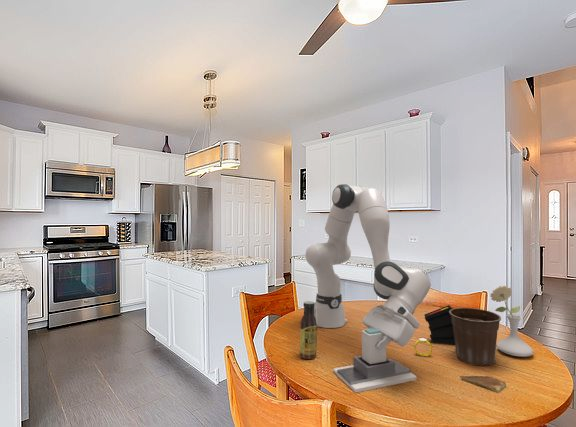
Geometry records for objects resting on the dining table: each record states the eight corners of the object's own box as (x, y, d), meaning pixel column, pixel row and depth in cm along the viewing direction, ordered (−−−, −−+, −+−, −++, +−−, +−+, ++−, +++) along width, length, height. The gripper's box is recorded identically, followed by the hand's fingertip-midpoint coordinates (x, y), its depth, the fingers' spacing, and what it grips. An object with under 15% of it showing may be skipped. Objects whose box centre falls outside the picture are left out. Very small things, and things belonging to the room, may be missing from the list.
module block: (362, 358, 107) (361, 329, 107) (377, 355, 109) (377, 326, 109) (370, 364, 103) (369, 333, 103) (386, 361, 105) (385, 331, 105)
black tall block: (470, 342, 129) (451, 306, 131) (437, 353, 132) (420, 318, 134) (468, 339, 132) (450, 304, 134) (436, 350, 136) (419, 316, 137)
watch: (415, 356, 121) (413, 340, 121) (414, 353, 123) (413, 337, 124) (433, 357, 119) (431, 340, 119) (432, 354, 122) (430, 338, 122)
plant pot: (502, 373, 107) (501, 323, 107) (447, 362, 115) (446, 316, 115) (501, 355, 120) (500, 311, 121) (452, 346, 129) (451, 305, 129)
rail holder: (333, 371, 109) (333, 356, 109) (389, 361, 116) (388, 347, 116) (355, 392, 96) (355, 375, 96) (416, 379, 103) (416, 363, 103)
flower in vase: (527, 349, 126) (525, 283, 126) (538, 361, 115) (537, 290, 115) (488, 345, 130) (486, 282, 130) (495, 356, 119) (494, 287, 119)
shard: (459, 381, 103) (459, 375, 103) (469, 373, 108) (469, 367, 108) (498, 395, 95) (498, 389, 95) (507, 386, 100) (507, 380, 100)
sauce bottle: (305, 361, 117) (304, 305, 117) (296, 355, 123) (296, 301, 123) (320, 357, 120) (320, 303, 120) (311, 351, 126) (311, 299, 126)
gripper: (373, 298, 118) (349, 328, 115) (411, 313, 99) (385, 350, 96) (383, 309, 120) (360, 340, 116) (424, 326, 101) (398, 363, 97)
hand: (372, 345), depth 106 cm, fingers closed on module block, 4 cm apart
